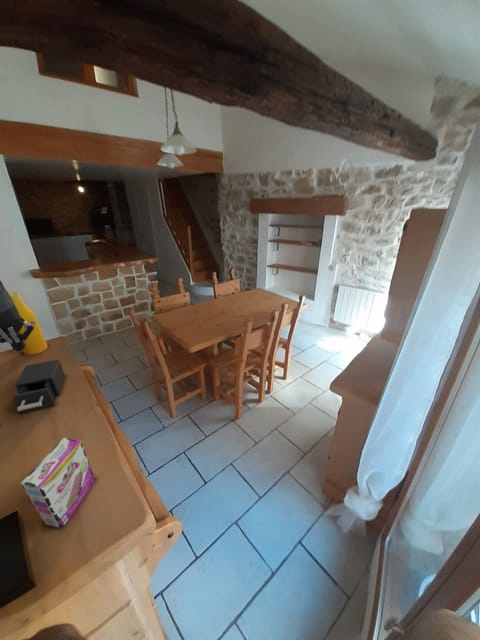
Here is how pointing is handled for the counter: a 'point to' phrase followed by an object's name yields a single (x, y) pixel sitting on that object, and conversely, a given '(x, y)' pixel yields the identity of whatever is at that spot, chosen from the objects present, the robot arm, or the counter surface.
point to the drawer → (35, 396)
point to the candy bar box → (59, 482)
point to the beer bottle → (36, 338)
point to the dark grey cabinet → (43, 375)
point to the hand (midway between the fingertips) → (20, 348)
